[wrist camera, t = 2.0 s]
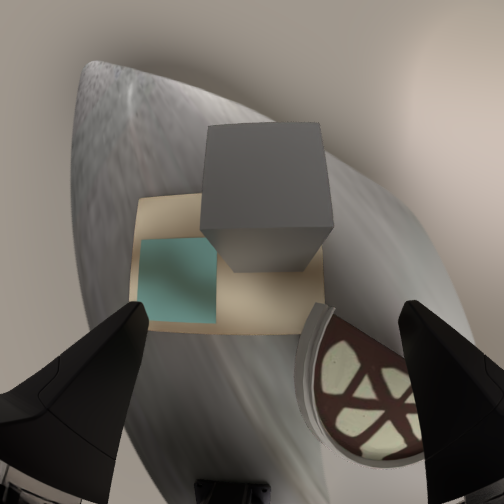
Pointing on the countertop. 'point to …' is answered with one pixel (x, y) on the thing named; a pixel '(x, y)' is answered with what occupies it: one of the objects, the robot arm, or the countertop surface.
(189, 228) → the stand board
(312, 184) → the tall gray pillar
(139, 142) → the countertop surface
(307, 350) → the food container
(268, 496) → the robot arm
